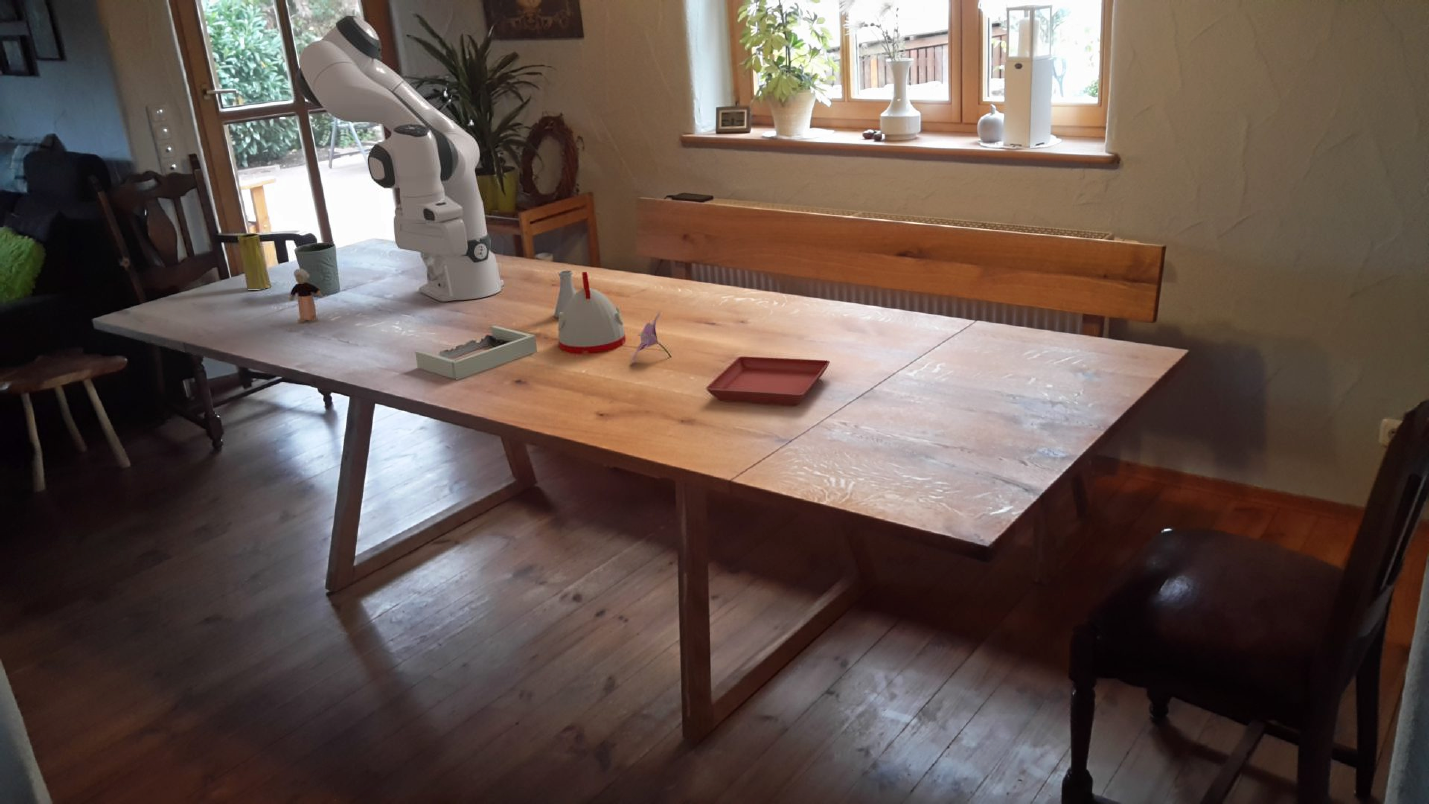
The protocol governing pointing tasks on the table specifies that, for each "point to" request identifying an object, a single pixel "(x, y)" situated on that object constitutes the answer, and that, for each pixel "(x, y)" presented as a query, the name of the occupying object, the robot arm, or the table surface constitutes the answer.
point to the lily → (649, 337)
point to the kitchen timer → (590, 323)
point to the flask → (564, 291)
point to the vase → (253, 261)
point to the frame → (480, 355)
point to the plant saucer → (767, 380)
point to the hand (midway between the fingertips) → (435, 273)
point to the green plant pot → (320, 266)
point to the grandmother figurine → (305, 296)
